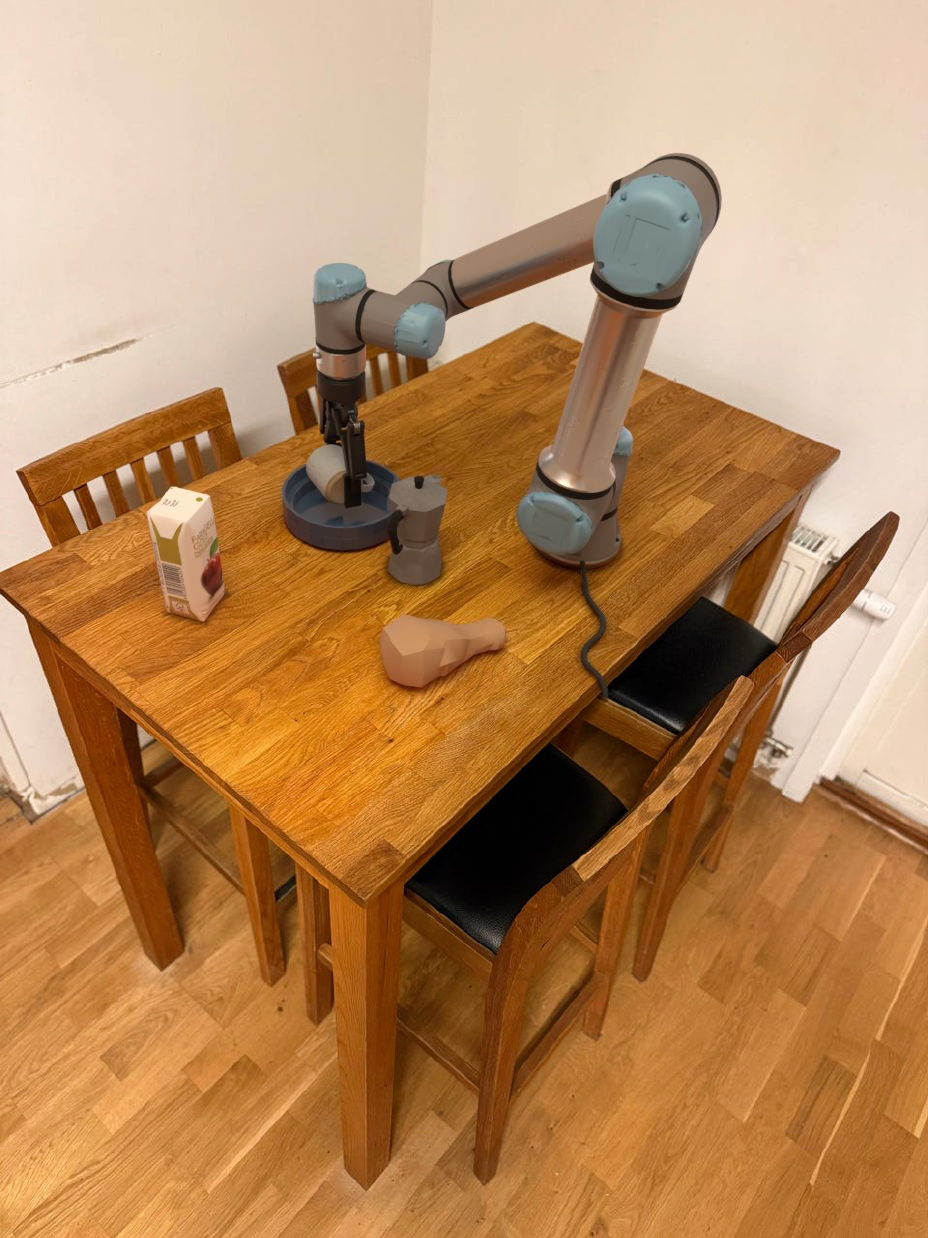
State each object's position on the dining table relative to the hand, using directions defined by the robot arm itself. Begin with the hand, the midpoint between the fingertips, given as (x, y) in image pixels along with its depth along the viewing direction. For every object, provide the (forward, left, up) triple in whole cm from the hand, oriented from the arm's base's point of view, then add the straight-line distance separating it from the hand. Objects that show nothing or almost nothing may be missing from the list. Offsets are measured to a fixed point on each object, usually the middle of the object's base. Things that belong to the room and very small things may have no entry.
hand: (343, 490), depth 152 cm
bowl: (0, 0, -5) cm, 5 cm away
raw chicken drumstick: (-38, -1, -6) cm, 39 cm away
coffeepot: (-18, -5, -6) cm, 20 cm away
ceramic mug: (0, 0, -1) cm, 1 cm away
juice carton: (-13, +29, -6) cm, 32 cm away
